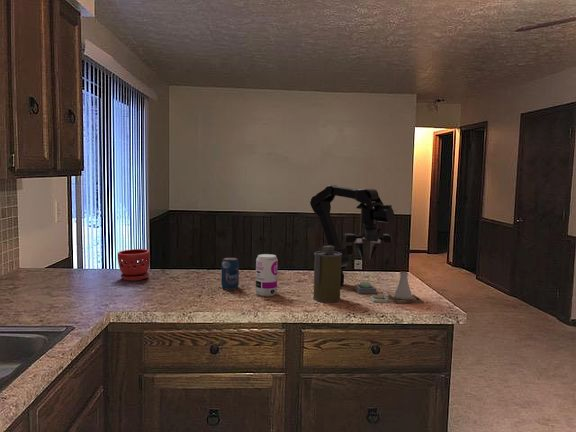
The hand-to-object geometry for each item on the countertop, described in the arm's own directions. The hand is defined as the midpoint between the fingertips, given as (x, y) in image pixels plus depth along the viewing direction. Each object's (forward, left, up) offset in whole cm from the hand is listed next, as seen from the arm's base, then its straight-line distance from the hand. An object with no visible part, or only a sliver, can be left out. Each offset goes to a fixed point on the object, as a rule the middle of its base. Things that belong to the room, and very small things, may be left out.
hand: (366, 259), depth 193 cm
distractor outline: (+2, -13, -13) cm, 18 cm away
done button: (0, 0, -12) cm, 12 cm away
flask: (+12, -10, -13) cm, 21 cm away
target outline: (+12, -13, -13) cm, 22 cm away
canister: (-18, -11, -13) cm, 25 cm away
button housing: (0, 0, -13) cm, 13 cm away
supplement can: (-40, -3, -13) cm, 42 cm away
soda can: (-54, +7, -13) cm, 56 cm away
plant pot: (-95, +24, -13) cm, 99 cm away
